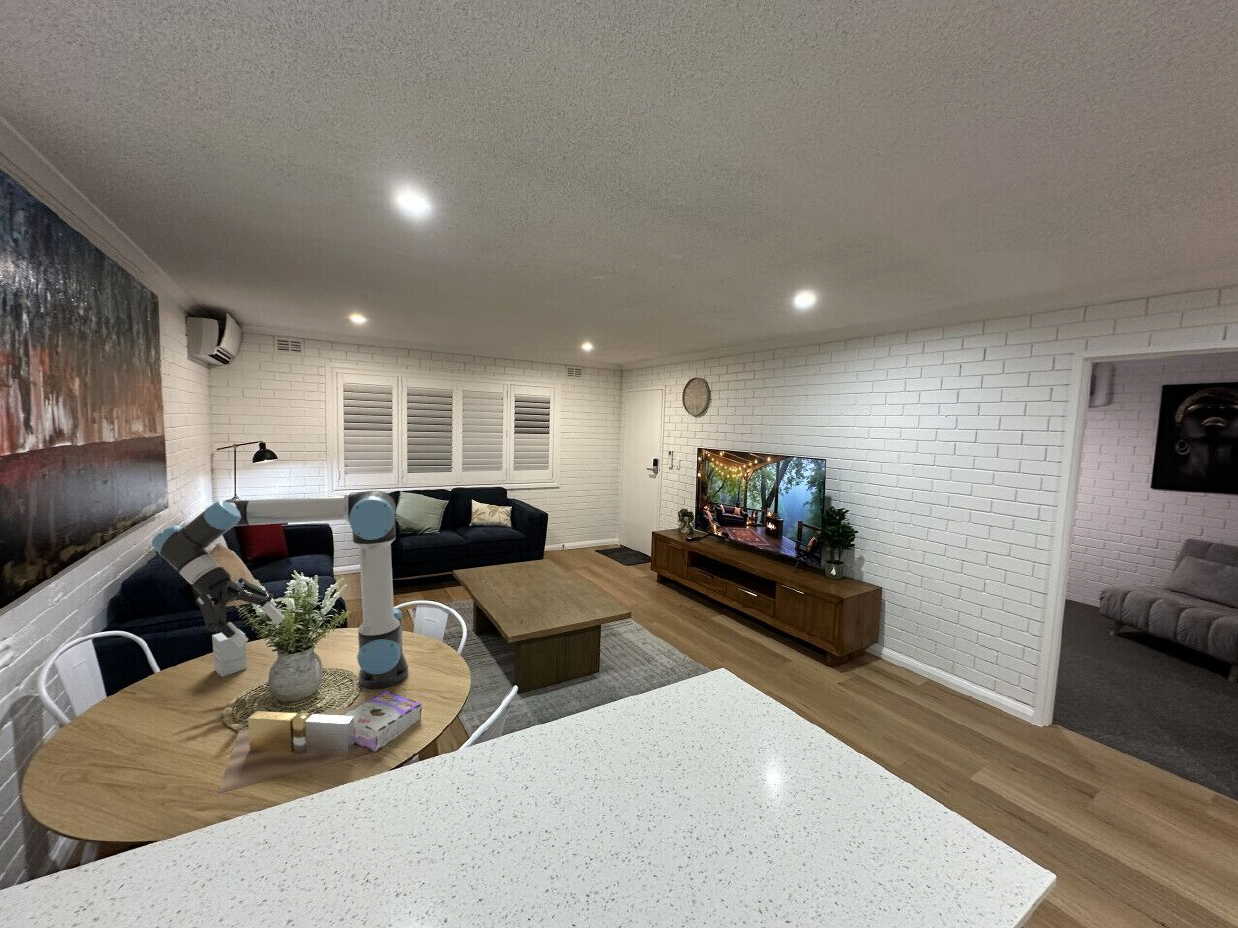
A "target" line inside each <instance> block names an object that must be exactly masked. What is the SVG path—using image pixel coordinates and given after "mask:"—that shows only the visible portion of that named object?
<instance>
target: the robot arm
mask: <svg viewBox="0 0 1238 928" xmlns="http://www.w3.org/2000/svg"><path fill="white" fill-rule="evenodd" d="M396 513H397V506H396V502H395V499H394V498H393V497H392V496H390V494H388V493H387V492H385V491H382V490H376V489H375V490H374V489H373V490H365V491H351V492H347V493H346V494H345V495H336V496H335V495H333V496H332V495H331V496H317V497H316V496H312V497H309V496H307V497H292V498H288V497H287V498H269V499H268V498H267V499H266V498H265V499H263V498H262V499H249V500H247V499H245V500H244V499H243V500H242V499H239V498H229V499H226V500H218V501H215V502H214V503H213V504H211V505H210V506H208V507H206V508H205V510H204V511H201V513H199V515H197V516H195V518H194V519H192V520H191V521H190V522H189V523H188V524H186V525H185V526H184V527H183V526H180V525H173V526H170V527H168V528H165V529H164V530H163V531H160V532H159V533H158V534H156V535H155V536H154V537H153V539H152V540H151V546H152V547H153V548H154V550H155V551H156V552H157V553H158V555H159V556H160V557H161V558H163V559H164V560H165V561H166V562H167V563H168V564H169V565H170V566H171V567H173V569H175V571H176V572H177V573H178V574H180V576H181V577H182V578H183V579H185V580H186V582H188V583H189V584H190V585H192V587H193V589H194V590H195V591H196V592H197V593H198V594H199V595H200V596H199V597H198V598H197V599H196V600H195V604H196V605H198V606H199V608H200V611H201V614H202V618H203V620H204V623H205V627H206V629H207V631H208V632H215V633H218V632H219V631H220V633H223V634H224V635H225V636H226V637H227V638H230V639H231V640H232V641H233V642H234V643H235V644H236V645H237V646H238V647H239V648H240V647H242V646H243V645H244V644H245V643H246V644H247V642H248V641H249V638H248V637H247V636H246V634H245V633H244V634H245V635H244V634H242V633H241V632H240V631H241V630H240V629H239V628H237V626H236V625H235V624H233V622H231V621H229V622H227V604H229V603H232V602H234V601H243V602H246V603H250V604H254V605H256V606H260V607H261V608H260V609H261V611H262V612H264V613H265V614H266V615H267V617H269V618H270V619H271V620H272V621H273V622H274V623H275V624H276V625H277V626H278V625H279V624H281V623H282V622H283V621H284V620H285V619H286V616H284V614H282V612H281V611H279V608H278V607H277V606H276V605H275V604H274V603H273V602H272V599H273V597H274V594H273V593H271V592H269V591H267V590H264V589H263V588H260V587H259V586H257V585H255V584H252V583H250V582H249V581H248V580H246V578H244V577H240V578H239V579H238V580H237V581H235V582H234V581H233V580H232V579H231V578H232V577H231V574H230V573H229V572H228V571H227V570H226V569H225V568H224V567H223V566H220V565H221V563H219V562H218V561H217V559H215V558H214V557H213V556H212V555H211V554H210V553H209V552H208V551H207V550H206V548H207V547H209V546H211V544H213V543H214V542H215V541H216V540H218V539H219V538H220V537H222V536H223V535H224V534H225V533H226V532H229V531H230V530H231V529H233V528H234V527H240V526H241V527H242V526H243V527H244V526H245V527H246V526H255V525H256V526H257V525H259V526H260V525H271V524H272V525H273V524H274V525H275V524H276V525H277V524H289V523H291V524H292V523H294V524H295V523H308V522H309V523H310V522H313V523H314V522H325V521H326V522H327V521H328V522H330V521H344V520H345V521H346V522H347V523H349V525H350V527H351V531H352V543H353V544H354V545H355V546H357V547H358V549H359V550H358V551H359V568H360V569H359V570H360V587H361V588H360V589H361V603H362V604H361V605H362V606H361V607H362V624H360V625H359V626H358V629H357V632H358V634H357V635H358V653H357V663H358V666H359V668H360V669H359V673H358V683H359V685H360V686H361V687H363V688H365V689H366V688H367V689H371V690H375V689H383V688H384V689H385V688H389V687H391V686H395V685H397V684H399V683H401V682H403V681H404V680H405V679H406V678H407V676H408V675H409V665H408V663H407V660H406V658H405V655H404V653H403V619H404V618H403V614H402V610H400V609H398V608H394V607H395V605H394V586H393V585H394V584H393V583H394V582H393V567H392V545H391V544H392V543H393V542H394V541H395V540H396V537H397V536H396V535H397V533H396ZM262 589H263V590H262ZM244 590H247V591H248V592H250V593H252V594H250V593H246V592H245V591H244ZM266 592H267V593H268V595H269V597H268V596H267V594H266ZM249 595H250V596H249ZM238 629H239V630H240V631H239V630H238Z"/></svg>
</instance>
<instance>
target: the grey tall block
mask: <svg viewBox="0 0 1238 928" xmlns="http://www.w3.org/2000/svg"><path fill="white" fill-rule="evenodd" d="M237 629H238V630H239V631H240V632H241V633H242V634H244V635H245V636H246V633H244V632H243V631H242V630H241V629H240V628H237ZM211 639H212V651H213V652H212V653H213V667H214V668H213V669H214V671H215V672H216V673H217V674H218V675H219V676H220V677H222V678H223V677H226V676H229V675H232V674H234V673H237V672H241V671H243V670H246V669H248V662H247V660H248V657H247V642H246V643H245V644H244V645H243V646H242V647H240V648H239V647H238V646H237V645H236V644H235V643H234V642H233V641H232V640H231V639H230V638H227V637H226V636H225V635H224V634H223V633H222V632H219V633H216V634H212V635H211Z"/></svg>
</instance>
